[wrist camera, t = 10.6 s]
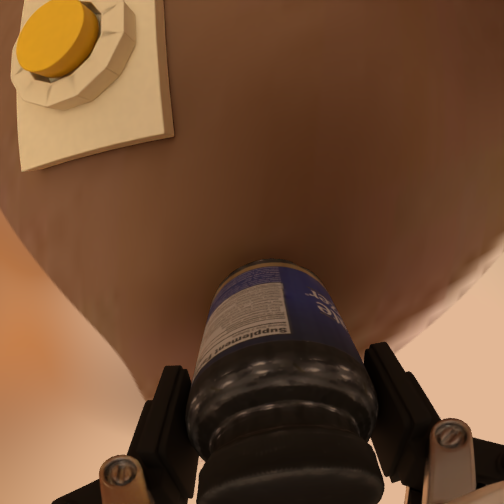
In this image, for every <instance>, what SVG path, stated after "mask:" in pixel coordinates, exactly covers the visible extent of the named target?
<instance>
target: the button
mask: <svg viewBox="0 0 504 504" xmlns="http://www.w3.org/2000/svg"><path fill="white" fill-rule="evenodd" d="M98 31H99V25H98V20H97V17H96V16H95V14H94V13H93V12H92V11H91V10H90V9H88V8H87V7H86V6H85V5H84V4H82V3H81V2H80V1H79V0H51V1H49V2H47V3H45V4H44V5H42V6H41V7H40V8H39V9H37V10H36V11H35V12H34V13H33V14H32V16H31V17H30V18H29V19H28V21H27V22H26V24H25V25H24V27H23V29H22V31H21V33H20V35H19V38H18V42H17V47H16V56H17V60H18V62H19V64H20V66H21V67H22V68H23V69H24V70H26V71H29V72H32V73H35V74H39V75H42V76H45V77H48V78H56V77H61V76H64V75H66V74H68V73H70V72H71V71H73V70H74V69H76V68H77V67H78V66H79V65H80V64H81V63H82V62H83V61H84V60H85V59H86V58H87V57H88V55H89V54H90V52H91V51H92V49H93V47H94V45H95V43H96V40H97V37H98Z"/></svg>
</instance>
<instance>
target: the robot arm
mask: <svg viewBox="0 0 504 504" xmlns="http://www.w3.org/2000/svg"><path fill="white" fill-rule="evenodd" d="M364 366H365V368H366V370H367V372H368V374H369V377H370V379H371V381H372V383H373V385H374V388H375V390H376V393H377V398H378V417H377V422H376V427H375V429H374V431H373V433H372V436H371V440H372V442H373V445H374V448H375V450H376V453H377V456H378V459H379V462H380V465H381V468H382V470H383V473H384V475H385V476H386V477H388V476H390V479H391V482H392V483H394V482H397V481H400V480H401V483H402V484H403V485H405V486H406V494H405V501H404V504H504V445H501V444H496V443H493V442H489V441H485V440H481V439H477V438H473V437H472V433H471V429H470V427H469V426H468V425H467V424H466V423H464V422H463V421H462V420H459V419H455V418H448V419H443V420H441V419H440V418H439V416H438V414H437V413H436V411H435V409H434V408H433V406H432V404H431V403H430V401H429V399H428V398H427V396H426V394H425V393H424V391H423V390H422V388H421V386H420V385H419V383H418V382H417V380H416V378H415V377H414V375H413V374H412V373H411V372H405V371H404V369H403V368H402V366H401V364H400V363H399V362H398V360H397V358H396V356H395V355H394V353H393V352H392V350H391V349H390V347H389V345H388V344H387V343H386V342H381V343H376V344H371V345H370V347H369V349H366V350H365V356H364ZM190 389H191V380H190V377H189V374H188V371H187V369H183V368H182V367H181V366H180V365H179V366H165V367H164V370H163V373H162V376H161V378H160V381H159V384H158V387H157V390H156V393H155V396H154V398H153V400H148V401H146V403H145V405H144V408H143V410H142V413H141V416H140V419H139V421H138V424H137V427H136V430H135V433H134V436H133V439H132V441H131V444H130V447H129V450H128V453H127V455H117V456H114V457H111V458H109V459H108V460H106V461H105V462H104V463H103V465H102V466H101V468H100V471H99V479H98V480H96V481H94V482H92V483H90V484H88V485H86V486H83V487H82V488H79V489H77V490H75V491H73V492H71V493H69V494H66V495H64V496H62V497H60V498H58V499H56V500H55V501H53V502H52V504H187V502H188V498H193V493H194V487H195V480H196V472H197V465H198V458H199V455H198V454H197V452H196V451H195V449H194V448H193V446H192V445H191V442H190V440H189V438H188V434H187V431H186V424H185V411H186V405H187V401H188V397H189V392H190Z"/></svg>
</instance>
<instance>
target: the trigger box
mask: <svg viewBox="0 0 504 504" xmlns="http://www.w3.org/2000/svg"><path fill="white" fill-rule="evenodd" d="M49 1H51V0H25V1H24V7H23V13H22V20H21V28H20V33H21V31H22V29H23V27H24V25H25V24H26V22H27V21H28V19H29V18H30V17H31V16H32V14H33V13H34V12H35V11H36V10H37V9H39V8H40V7H41V6H42V5H44V4H45V3H47V2H49ZM79 1H80V2H81V3H82V4H84V5H85V6H86V7H87V8H88V9H90V10H91V11H92V12H93V13H94V14H95V16H96V17H97V20H98V25H99V31H98V37H97V40H96V43H95V45H94V47H93V49H92V51H91V52H90V54H89V55H88V57H87V58H86V59H85V60H84V61H83V62H82V63H81V64H80V65H79V66H78V67H77V68H76V69H74V70H73V71H71V72H70V73H68V74H66V75H64V76H61V77H56V78H48V77H45V76H42V75H39V74H35V73H32V72H29V71H26V70H24V69H23V68H22V67H21V66H20V64H19V62H18V60H17V56H16V47H17V42H18V39H17V41H16V43H15V45H14V47H13V51H12V62H11V81H12V83H13V84H14V86H15V88H16V90H17V125H18V141H19V152H20V162H21V171H22V172H26V171H33V170H41V169H45V168H48V167H51V166H54V165H57V164H61V163H64V162H68V161H71V160H74V159H78V158H82V157H85V156H89V155H93V154H97V153H101V152H105V151H109V150H113V149H117V148H121V147H126V146H130V145H135V144H139V143H144V142H149V141H154V140H159V139H164V138H170V137H174V127H173V118H172V108H171V98H170V88H169V77H168V65H167V52H166V38H165V21H164V1H163V0H79ZM19 35H20V34H19ZM18 38H19V37H18Z"/></svg>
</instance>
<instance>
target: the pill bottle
mask: <svg viewBox="0 0 504 504" xmlns="http://www.w3.org/2000/svg"><path fill="white" fill-rule="evenodd" d="M377 417H378V398H377V393H376V390H375V388H374V385H373V383H372V381H371V379H370V377H369V374H368V372H367V370H366V368H365V366H364V364H363V362H362V360H361V358H360V356H359V353H358V351H357V349H356V347H355V345H354V343H353V341H352V339H351V337H350V335H349V333H348V331H347V329H346V327H345V325H344V322H343V320H342V318H341V316H340V315H339V313H338V311H337V309H336V307H335V305H334V303H333V301H332V299H331V297H330V295H329V294H328V292H327V290H326V288H325V286H324V284H323V283H322V282H321V281H320V279H319V278H318V277H317V276H316V275H315V274H314V273H313V272H311V271H310V270H308V269H306V268H304V267H300V266H297V265H296V264H294V263H293V262H291V261H288V260H283V259H262V260H258V261H254V262H252V263H249V264H246V265H244V266H242V267H240V268H238V269H236V270H235V271H233V272H232V273H231V274H230V275H229V276H228V277H227V278H225V279H224V280H223V282H222V283H221V284H220V285H219V287H218V289H217V291H216V293H215V295H214V298H213V300H212V302H211V306H210V311H209V315H208V319H207V323H206V327H205V331H204V335H203V338H202V343H201V347H200V351H199V355H198V359H197V363H196V368H195V372H194V376H193V380H192V384H191V389H190V392H189V397H188V401H187V405H186V411H185V424H186V431H187V434H188V438H189V440H190V442H191V445H192V446H193V448H194V449H195V451H196V452H197V454H198V455H199V456H200V457H201V458H202V459H203V460H204V461H205V464H204V466H203V468H202V469H201V471H200V473H199V484H198V493H197V500H196V503H197V504H377V503H378V502H379V501H380V500H381V498H382V495H383V492H384V481H383V477H382V474H381V471H380V469H379V466H378V462H377V459H376V455H375V453H374V451H373V449H372V446H370V445H369V444H368V441H369V439H370V437H371V436H372V433H373V431H374V429H375V427H376V422H377Z"/></svg>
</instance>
